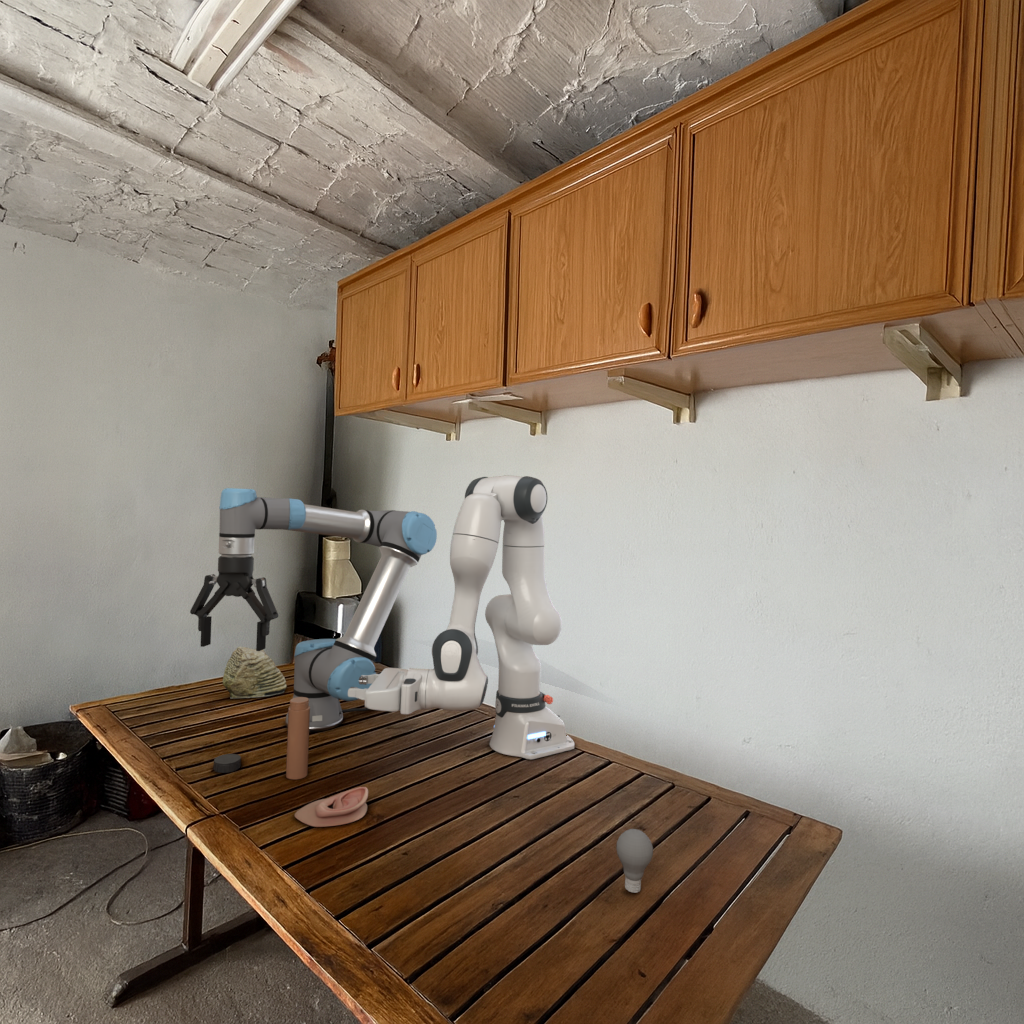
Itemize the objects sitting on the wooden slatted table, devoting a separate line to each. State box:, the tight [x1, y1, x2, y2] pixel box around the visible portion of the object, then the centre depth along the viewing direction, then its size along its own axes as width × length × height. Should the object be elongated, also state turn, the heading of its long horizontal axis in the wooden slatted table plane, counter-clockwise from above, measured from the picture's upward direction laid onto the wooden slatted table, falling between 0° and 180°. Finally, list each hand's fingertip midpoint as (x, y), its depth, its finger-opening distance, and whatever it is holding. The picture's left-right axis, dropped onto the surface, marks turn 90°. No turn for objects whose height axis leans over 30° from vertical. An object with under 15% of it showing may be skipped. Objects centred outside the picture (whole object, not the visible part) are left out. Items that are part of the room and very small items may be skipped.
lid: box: [212, 753, 242, 774], centre depth 146 cm, size 6×6×2 cm
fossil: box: [222, 646, 288, 699], centre depth 198 cm, size 9×18×15 cm, turn 132°
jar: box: [285, 697, 310, 780], centre depth 143 cm, size 5×5×17 cm
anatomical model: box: [294, 786, 369, 828], centre depth 127 cm, size 13×4×12 cm
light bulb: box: [615, 828, 654, 894], centre depth 106 cm, size 6×6×10 cm
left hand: (233, 647), depth 146 cm, fingers open, 13 cm apart
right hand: (354, 685), depth 143 cm, fingers open, 8 cm apart
